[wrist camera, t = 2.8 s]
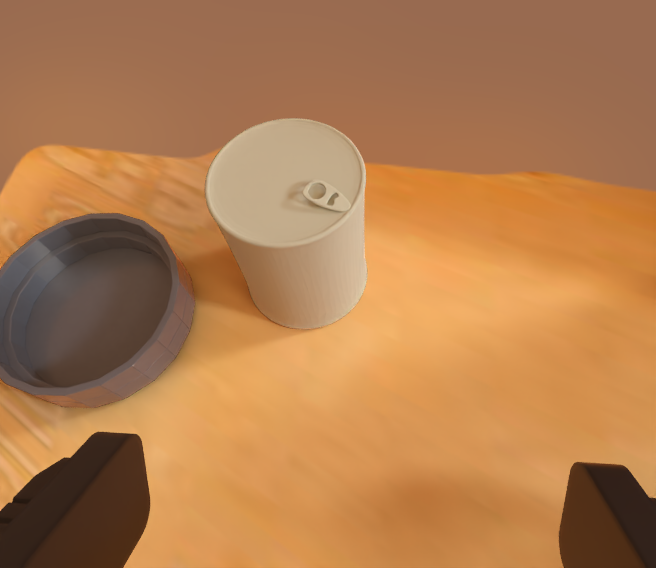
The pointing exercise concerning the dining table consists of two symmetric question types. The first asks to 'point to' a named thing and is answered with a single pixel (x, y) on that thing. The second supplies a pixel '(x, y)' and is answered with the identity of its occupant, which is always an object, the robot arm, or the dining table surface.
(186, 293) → the pan
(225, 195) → the can
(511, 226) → the dining table surface
